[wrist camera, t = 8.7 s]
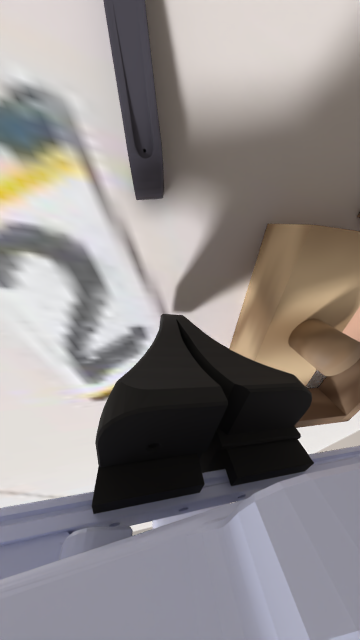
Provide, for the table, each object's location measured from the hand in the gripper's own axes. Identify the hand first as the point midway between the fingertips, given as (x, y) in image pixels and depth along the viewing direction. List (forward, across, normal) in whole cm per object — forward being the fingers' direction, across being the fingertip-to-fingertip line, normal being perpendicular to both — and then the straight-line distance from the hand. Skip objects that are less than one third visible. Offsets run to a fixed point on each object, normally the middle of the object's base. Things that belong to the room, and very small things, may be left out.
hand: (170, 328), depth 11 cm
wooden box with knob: (+2, -9, -1) cm, 9 cm away
